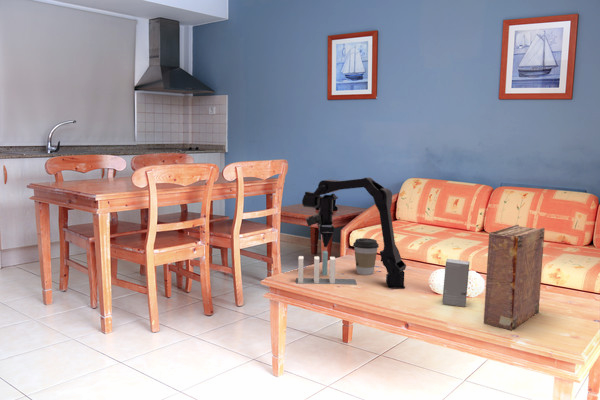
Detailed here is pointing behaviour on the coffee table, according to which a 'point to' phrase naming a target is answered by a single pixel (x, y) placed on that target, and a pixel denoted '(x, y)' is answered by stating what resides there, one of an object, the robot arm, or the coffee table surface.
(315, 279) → the ivory domino
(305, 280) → the mat
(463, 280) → the skincare box
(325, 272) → the teal domino
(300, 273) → the ivory end domino
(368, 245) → the coffee cup
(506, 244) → the book
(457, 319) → the coffee table surface
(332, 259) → the ivory domino
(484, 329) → the coffee table surface
